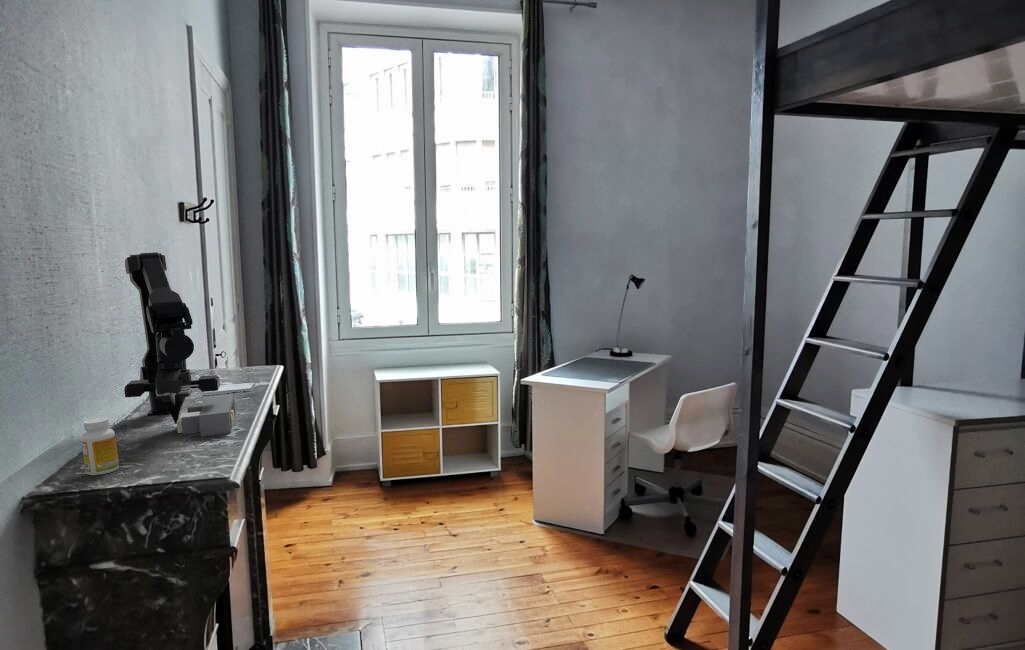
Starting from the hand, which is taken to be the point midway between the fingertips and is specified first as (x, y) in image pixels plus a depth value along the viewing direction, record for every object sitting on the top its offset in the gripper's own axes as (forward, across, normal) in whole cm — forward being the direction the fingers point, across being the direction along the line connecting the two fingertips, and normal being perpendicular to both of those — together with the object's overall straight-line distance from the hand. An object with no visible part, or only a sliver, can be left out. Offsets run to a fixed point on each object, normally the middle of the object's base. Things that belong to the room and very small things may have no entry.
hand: (176, 423), depth 155 cm
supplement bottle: (+2, -9, -26) cm, 28 cm away
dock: (+1, +7, 0) cm, 7 cm away
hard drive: (+2, +9, +38) cm, 39 cm away
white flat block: (+1, +6, 0) cm, 6 cm away
